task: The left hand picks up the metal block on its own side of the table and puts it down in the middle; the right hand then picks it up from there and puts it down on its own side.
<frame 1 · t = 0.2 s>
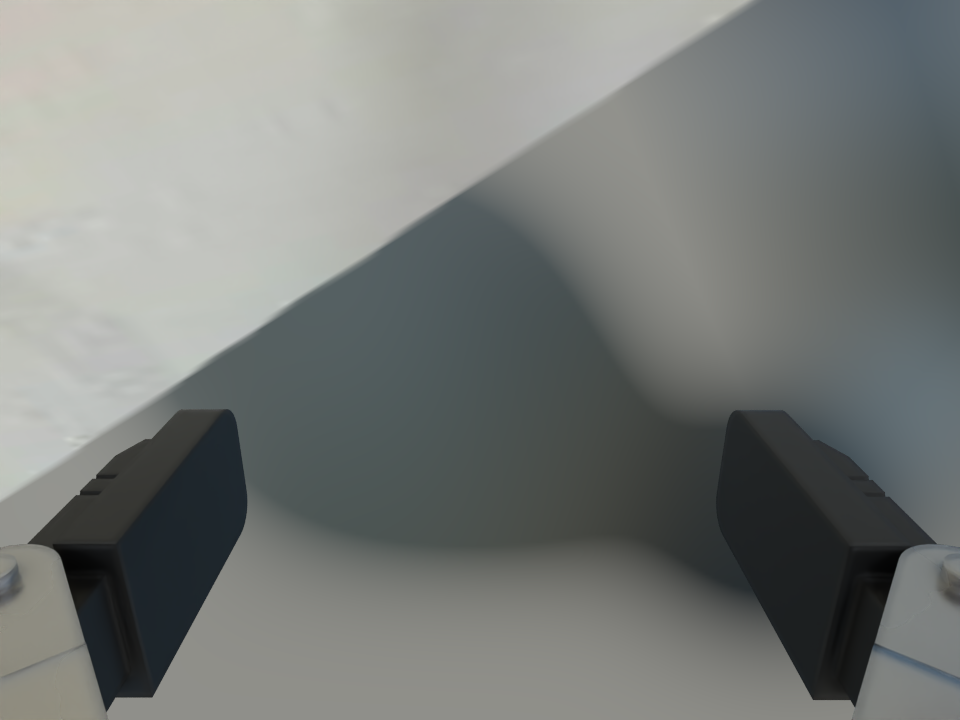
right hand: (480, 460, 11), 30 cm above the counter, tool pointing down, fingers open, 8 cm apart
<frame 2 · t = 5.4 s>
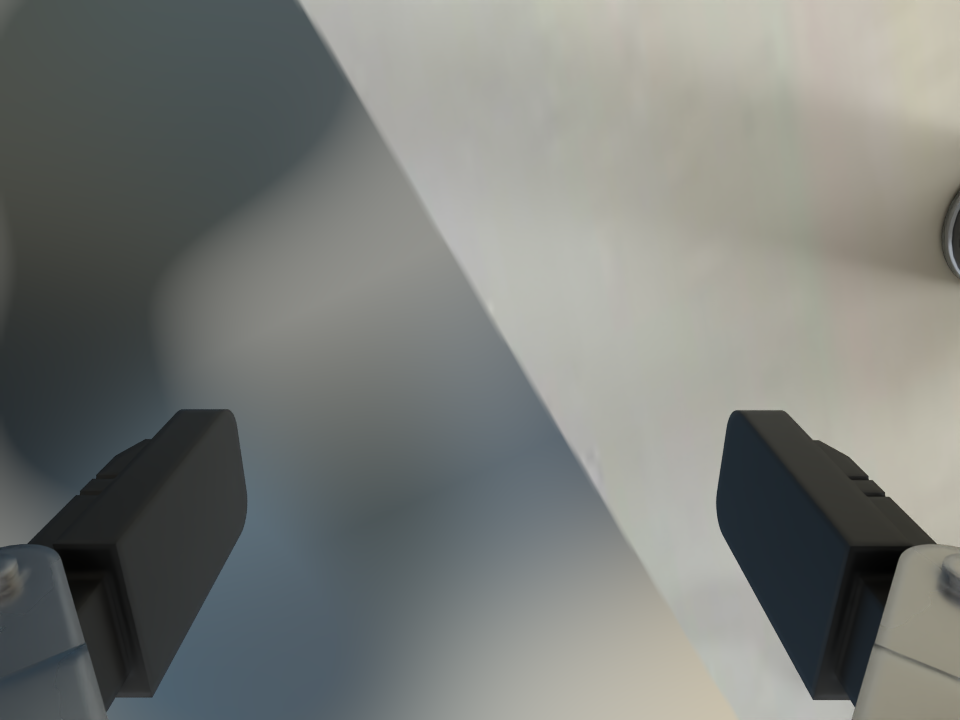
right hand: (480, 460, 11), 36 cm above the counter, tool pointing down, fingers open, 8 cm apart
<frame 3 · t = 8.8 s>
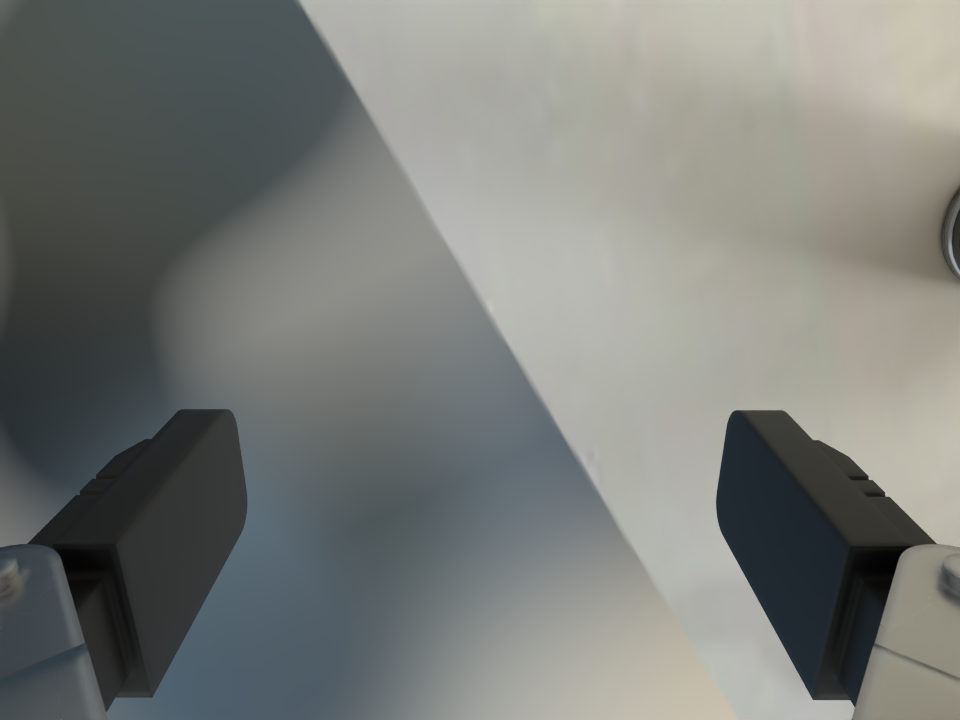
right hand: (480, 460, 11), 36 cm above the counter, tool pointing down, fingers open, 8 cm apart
when the left hand's fingers open (6 cm above the counter, at t = 12.5 s): block stays where it is, on the counter.
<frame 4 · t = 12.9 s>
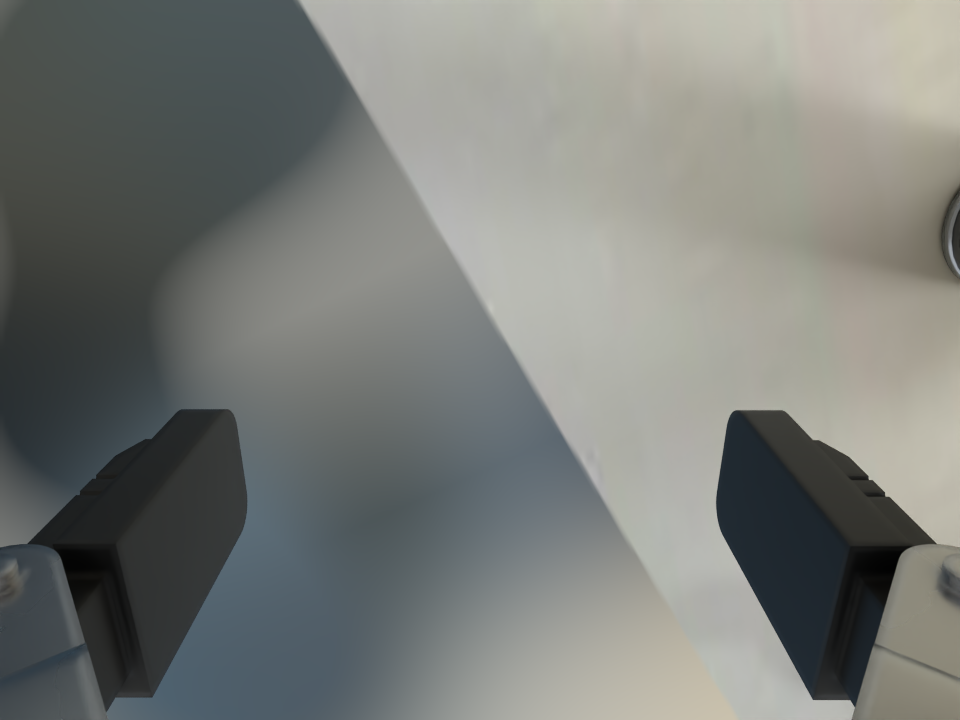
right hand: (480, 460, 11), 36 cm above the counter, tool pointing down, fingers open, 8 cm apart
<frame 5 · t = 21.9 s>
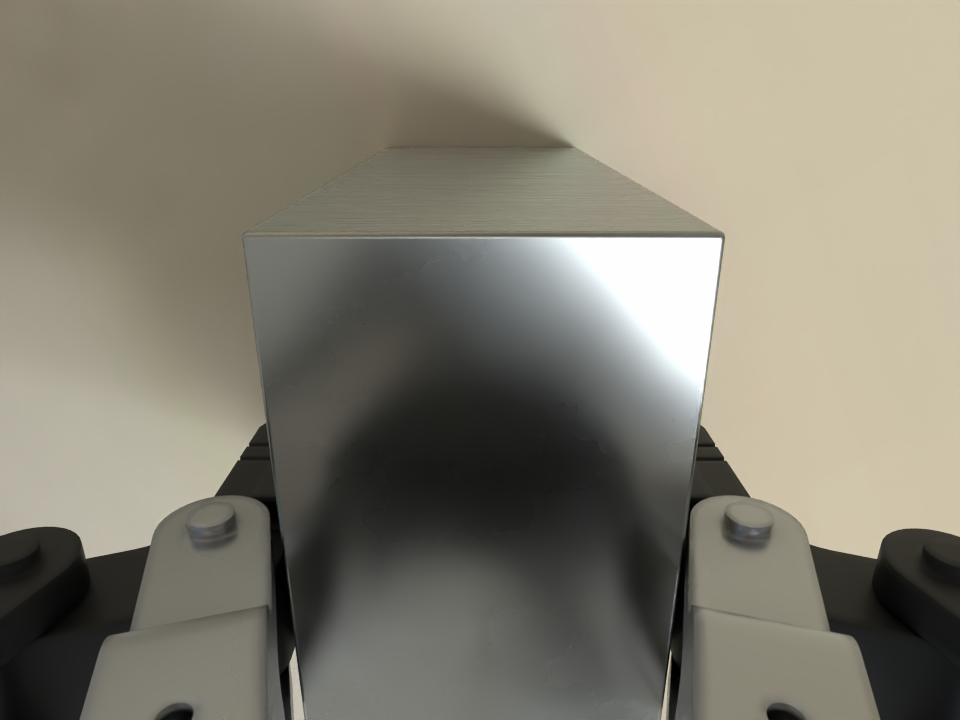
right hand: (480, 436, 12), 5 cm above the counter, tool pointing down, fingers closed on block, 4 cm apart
block: (481, 333, 17), on the counter, touching right hand
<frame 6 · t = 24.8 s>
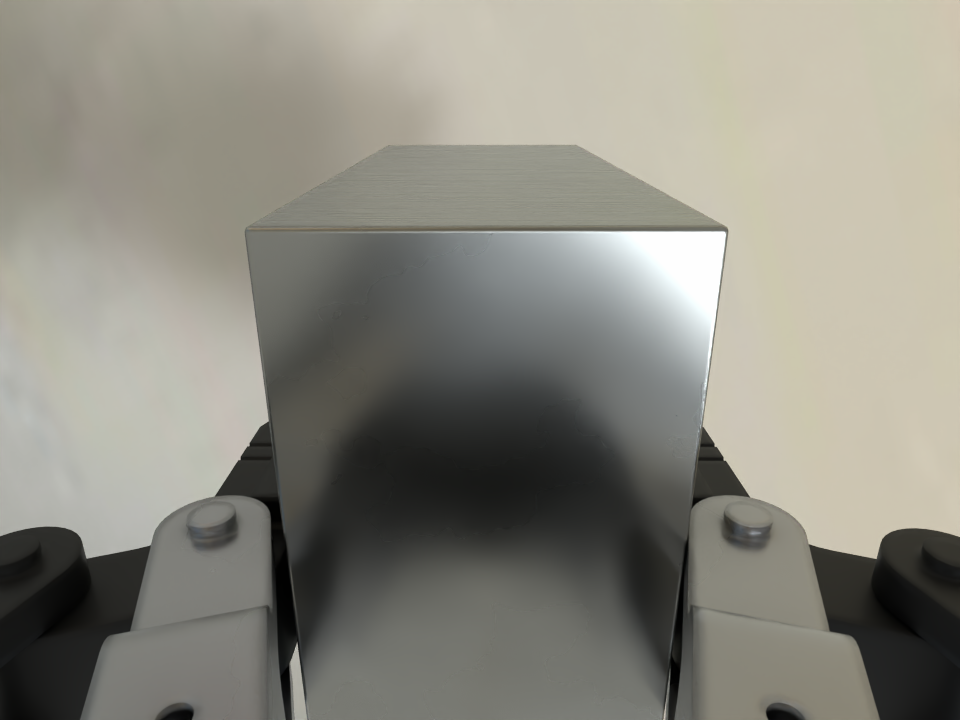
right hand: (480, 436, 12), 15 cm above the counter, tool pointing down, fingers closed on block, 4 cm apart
block: (482, 332, 17), point 9 cm above the counter, touching right hand
when the right hand's fingers open (6 cm above the counter, at t = 27.5 s): block stays where it is, on the counter.
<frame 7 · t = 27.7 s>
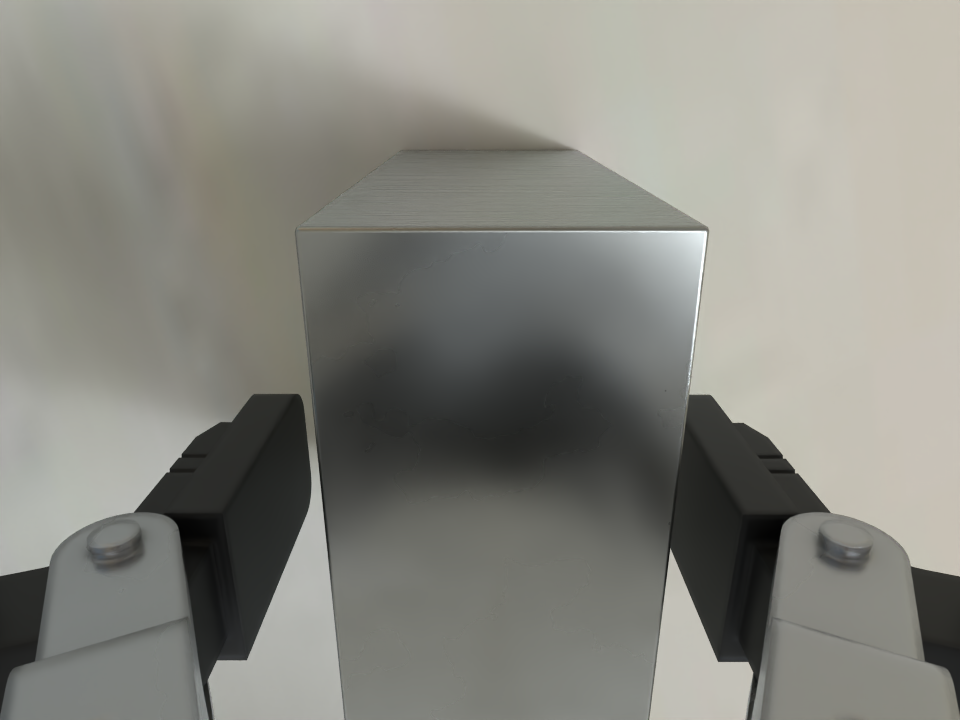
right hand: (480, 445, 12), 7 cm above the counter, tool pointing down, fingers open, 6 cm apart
block: (488, 326, 18), on the counter
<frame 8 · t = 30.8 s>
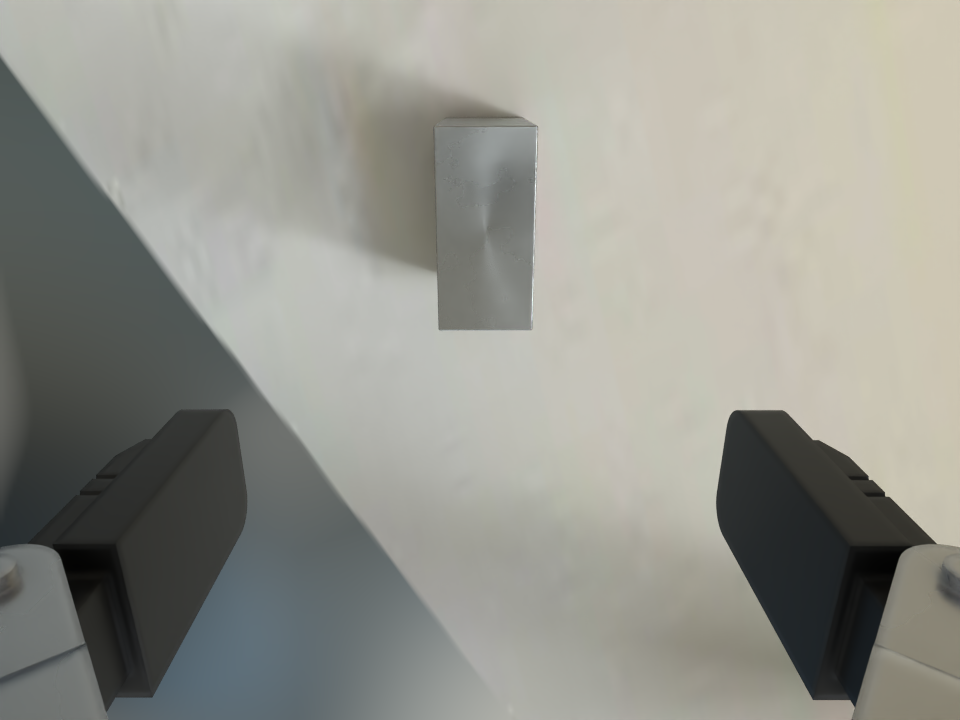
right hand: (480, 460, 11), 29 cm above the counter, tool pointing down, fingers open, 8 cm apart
block: (484, 200, 38), on the counter
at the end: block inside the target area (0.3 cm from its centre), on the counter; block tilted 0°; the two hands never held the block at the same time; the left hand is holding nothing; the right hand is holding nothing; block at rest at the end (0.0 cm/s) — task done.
